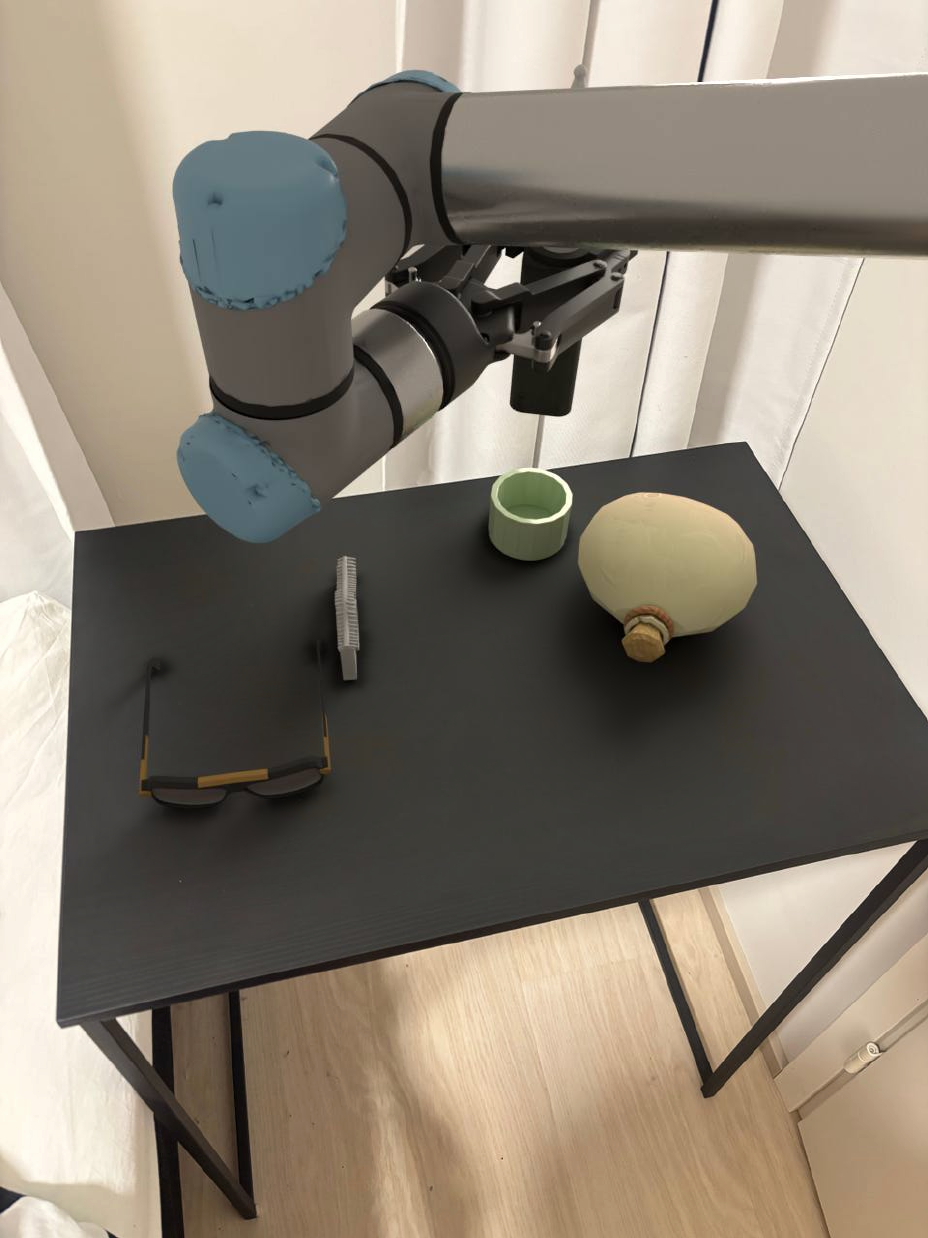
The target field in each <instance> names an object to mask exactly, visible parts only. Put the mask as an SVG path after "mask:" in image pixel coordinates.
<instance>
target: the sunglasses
mask: <svg viewBox="0 0 928 1238" xmlns="http://www.w3.org/2000/svg"><path fill="white" fill-rule="evenodd" d="M315 644H316V645H315V646H316V658H317V667H318V679H319V693H320V694H319V695H320V704H321V725H322V736H323V745H324V747H323V749H324V756H318V755H309V756H304V757H301V758H298V759H294V760H291V761H288V762H285V763H281V764H277V765H273V766H270V767H266V768H261V769H253V770H244V771H243V770H242V771H236V772H228V773H221V774H213V775H206V776H178V775H177V776H176V775H150V776H149V777H148V778H147V774H148V773H147V772H148V756H149V754H148V753H149V729H150V713H151V712H150V709H151V680H152V679H151V678H152V677H151V676H152V670H153V671H156V672H158V671H161V664H160V659H159V658H158V657H150V658H148V660H147V664H146V674H145V675H146V676H145V691H144V706H143V720H142V721H143V723H142V734H141V735H142V737H141V757H140V770H139V787H138V796H141V798H147V797H151V798H152V799H153V800H154V801H155V803H157V804H158V805H160V806H164V807H169V808H174V809H183V810H185V809H205V808H209V807H214V806H218V805H220V804H223V802H224V801H225V800H227V798H228V797H229V796H230V795H231V794H235V793H242V792H244V793H246V794H250V795H253V796H254V797H259V798H262V799H282V798H286V797H291V796H295V795H300V794H303V793H305V792H308V791H311V790H313V789H315V788H317V787H319V786H320V785H322V784H323V783H324V780H325V775H326V774H331V773H332V772H331V771H332V768H331V755H330V743H329V742H330V741H329V740H330V739H329V730H328V717H327V715H326V706H325V705H326V704H325V693H324V682H323V671H322V660H321V654H322V644H321V639H319V638H318V639H316V643H315Z"/></svg>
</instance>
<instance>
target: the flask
mask: <svg viewBox="0 0 928 1238" xmlns="http://www.w3.org/2000/svg"><path fill="white" fill-rule="evenodd" d="M578 544H579V545H578V555H577V565H578V568H579V570H580V573H581V577H582V579H583V580H584V582H585V585H586V587H587V589H588V592H589V594H590V596H591V599H592V600H593V601H594V602H596V603H597V604H598V605H599V606H600V607H601V608H603V609H604V610H605V611H607V612H608V613H609V614H610V615H612V617H614V618H615V619H616V620H618V621H619V622H620V623H621V624H623V630H624V635H625V636H624V637H623V638H622V639H621V643H622V646H623V648H624V651H625V653H626V655H627V656H628V657H629V658H631V659H633V660H634V661H637V662H639V663H653V662H654V661H656V660H658V659H659V658H660V657H662V656H663V655H664V654H665V653H666V650H665V646H666V644H668V643H669V641H670V640H671V639H672V638H676V637H683V636H691V635H697V634H705V633H711V632H713V631H715V630H716V629H718V628H719V627H720V626H722V625H723V624H725V623H726V622H728V621H729V620H730V619H732V618H733V617H735V616H736V615H738V614H739V613H740V612H742V611H743V610H744V609H745V608H746V607H747V605H748V603H749V600H750V599H751V597H752V595H753V592H754V590H755V588H757V587H756V586H757V585H758V577H757V565H756V554H755V549H754V548H755V547H754V544H753V542H752V541H751V540H750V538H749V537H748V536H747V535H746V532H745V531H744V530H743V529H742V527H741V526H740V524H739V523H738V522H737V521H735V520H734V519H733V518H732V517H731V516H730V515H729V514H727V513H725V512H723V511H721V510H719V509H717V508H715V507H713V506H711V505H709V504H706V503H703V502H701V501H698V500H695V499H692V498H688V497H686V496H680V495H673V494H669V493H668V494H667V493H662V492H641V491H640V492H639V491H638V492H636V493H631V494H626V495H623V496H622V497H620V498H617V499H615V500H613V501H611V502H609V503H607V504H604V505H602V506H601V508H600V509H599V510H598V511H597V512H596V513H595V515H594V516H593V517H592V518H591V520H590V521H589V523H588V525H587V526H586V527H585V529H584V531H583V532H582V533H581V535H580V536H579V542H578Z"/></svg>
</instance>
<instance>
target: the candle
mask: <svg viewBox="0 0 928 1238" xmlns="http://www.w3.org/2000/svg"><path fill="white" fill-rule="evenodd" d="M587 75H588V69H587V67H586V65H584V64H583V63H582V64H578V65H576V66H575V68H574V69H573V76H574V78H573V81H572V84H571V86H570V88H587V84H586V78H587ZM590 250H591V249H586V248H557V247H528V246H525V247H524V252H522V258H521V267H520V280H519V283H520V284H522V285H523V286H525V285H528V284H530V283H533V282H536V281H538V280H541V279H544V278H547V277H549V276H552V275H555V274H557V273H560V272H563V271H565V270H568V269H571V268H574V267H576V266H579V265H582V264H584V263H586V260H587V253H588V251H590ZM530 329H532V327H530V328H529V330H530ZM529 330H528V331H529ZM582 343H583V338H581V339H580V340H579V341H577V342H576V343H574V344H573V345H572V346H570V347H569V348H567V349H566V350H565V351H563V352H562V353H560V354H559V355H558V356H557V358H556V359H555V361H554V363H553V365H552V367H551V369H550V370H549V371H548V372H546V373H538V372H535V371H534V370H533V369H532V359H529V358H525V357H521V356H517V355H513V360H512V369H511V370H512V371H511V381H510V382H511V383H510V393H509V396H510V397H509V406H510V408H511V409H512V410H514V411H515V412H518V413H520V414H521V413H522V414H527V415H528V414H529V415H538V416H546V417H555V418H561V417H565V416H567V415H569V414H570V413H571V412H572V409H573V403H574V396H575V389H576V382H577V376H578V371H579V370H578V369H579V363H580V356H581V350H582Z"/></svg>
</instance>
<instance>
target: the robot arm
mask: <svg viewBox="0 0 928 1238" xmlns="http://www.w3.org/2000/svg"><path fill="white" fill-rule="evenodd" d="M172 179H173V180H172V198H173V199H172V200H173V206H174V211H175V217H176V223H177V231H178V237H179V240H178V246H179V264H180V266H181V270H182V272H183V274H184V277H185V279H186V282H187V284H188V289H189V293H190V297H191V303H192V306H193V307H192V308H193V311H194V316H195V320H196V323H197V329H198V333H199V337H200V343H201V347H202V351H203V355H204V360H205V365H206V369H207V372H208V388H209V392H210V397H211V400H212V404H213V405H212V409H211V411H209V412H207V413H206V412H204V413H203V414H199V415H198V418H197V420H196V421H195V422H194V423H192V425H191V426H189V427H188V428H186V429H185V430H184V431H183V432H182V434H181V435H180V438H179V443H178V447H177V450H176V462H177V467H178V470H179V474H180V476H181V478H182V480H183V482H184V485H185V486H186V488H187V490H188V492H189V493H190V495H191V496H192V498H193V499H194V501H195V503H196V504H197V505H198V506H199V508H201V510H202V511H203V512H204V513H205V514H206V516H208V518H209V519H211V520H212V521H213V522H214V523H215V524H216V525H217V526H218V527H220V528H221V529H223V530H225V531H226V532H228V533H230V534H231V535H232V536H234V537H235V538H236V539H239V540H241V541H244V542H247V543H252V544H267V543H270V542H272V541H275V540H277V539H278V538H280V537H281V536H283V535H284V534H286V533H287V532H289V531H290V530H292V529H293V528H295V527H296V526H297V525H299V524H300V523H302V522H304V521H305V520H306V519H308V518H309V517H311V516H315V515H318V514H319V512H321V509H322V508H323V507H324V506H326V504H328V503H329V502H330V501H331V500H333V499H334V498H335V497H336V496H337V495H338V494H340V493H341V492H342V491H344V489H346V488H347V487H348V486H349V485H351V484H352V483H354V481H356V479H358V478H359V477H360V476H362V475H363V474H364V473H365V472H367V470H369V469H370V468H371V467H372V466H374V465H375V464H376V463H377V462H378V461H380V460H381V459H382V458H383V457H385V456H386V455H387V454H388V453H389V452H390V451H392V449H395V448H396V447H397V446H398V445H400V444H401V443H402V442H404V441H405V440H406V439H407V438H409V437H410V436H411V435H412V434H414V432H416V431H417V430H418V429H420V428H421V427H422V426H423V425H424V424H426V423H427V422H428V421H430V420H431V419H432V418H433V417H434V416H435V415H436V414H437V413H438V412H441V411H443V410H444V409H445V408H446V407H447V406H449V405H450V404H452V402H454V401H455V400H456V399H458V398H459V397H461V395H463V394H464V393H465V392H466V391H468V390H469V389H470V388H472V387H473V386H474V384H475V383H476V382H477V381H478V379H479V378H480V377H481V376H482V374H483V373H484V371H485V370H486V368H487V367H488V366H489V365H492V364H494V363H499V362H502V361H505V360H507V359H508V358H510V357H511V355H513V356H514V355H517V356H521V357H525V358H529V359H532V369H533V370H534V371H535V372H538V373H546V372H548V371H549V370H550V369H551V367H552V365H553V363H554V361H555V359H556V358H557V356H558V355H559V354H560V353H562V352H563V351H565V350H566V349H567V348H569V347H570V346H572V345H573V344H574V343H576V342H577V341H579V340H580V339H581V338H582V339H583V338H584V337H587V335H588V334H590V333H592V332H593V331H595V329H597V328H598V327H599V326H601V325H603V324H604V323H605V322H607V321H609V320H610V319H611V318H612V317H614V316H615V315H617V314H618V313H619V312H620V308H621V302H622V297H623V292H624V286H625V280H626V277H625V275H626V274H627V272H628V266H629V262H630V261H631V260H633V259H634V258H635V257H636V256H638V253H639V251H644V252H645V251H648V252H649V251H650V252H677V253H678V252H680V253H705V254H706V253H707V254H735V255H736V254H737V255H762V256H763V255H764V256H765V255H766V256H794V257H821V258H822V257H823V258H824V257H826V258H851V259H852V258H853V259H877V260H878V259H880V260H881V259H883V260H912V261H928V71H925V72H905V73H904V72H903V73H881V74H860V75H839V76H838V75H837V76H836V75H835V76H814V77H813V76H812V77H792V78H791V77H790V78H771V79H770V78H769V79H748V80H729V81H728V80H723V81H704V82H703V81H701V82H682V83H679V82H678V83H657V84H638V85H637V84H635V85H634V84H633V85H615V86H612V85H611V86H591V87H586V88H571V87H569V88H567V87H565V88H548V89H547V88H545V89H522V90H502V91H501V90H500V91H480V92H478V91H477V92H471V91H462V90H461V89H460V88H459V87H458V86H457V85H455V84H454V83H453V82H450V81H448V80H447V79H445V78H444V77H442V76H440V75H438V74H435V73H434V72H432V71H428V70H426V69H407V70H403V71H399V72H397V73H395V74H392V75H390V76H389V77H387V78H386V79H383V80H381V81H378V82H375V83H372V84H371V85H370V86H369V87H368V88H366V89H365V90H364V91H361V92H359V93H358V94H356V95H355V97H354V98H353V99H352V100H351V101H350V102H349V103H348V104H347V106H346V107H345V108H344V109H343V110H342V111H341V112H339V113H338V114H337V115H336V116H334V117H333V118H332V119H331V120H330V121H328V122H327V123H326V124H325V125H323V126H322V127H321V128H320V129H319V130H317V131H316V132H315V133H314V134H312V135H311V136H309V137H308V138H305V137H303V136H299V135H296V134H293V133H289V132H282V131H276V130H248V131H246V130H245V131H238V132H232V133H230V134H229V135H228V136H227V138H224V139H211V140H206V141H204V142H202V143H201V144H198V145H197V146H196V147H195V148H193V149H191V150H190V151H189V152H188V153H187V154H186V155H185V156H184V157H183V158H182V159H181V161H180V162H179V164H178V166H176V169H175V172H174V175H173V178H172ZM416 246H420V247H419V248H418V249H417V250H416V251H414V252H413V253H411V254H410V255H409V256H406V255H407V254H408V253H409V251H410V250H412V249H413V248H414V247H416ZM525 246H528V247H557V248H586V249H591V250H590V251H588V253H587V260H586V263H584V264H582V265H579V266H576V267H574V268H571V269H568V270H565V271H563V272H560V273H557V274H555V275H552V276H549V277H547V278H544V279H541V280H538V281H536V282H533V283H530V284H528V285H525V286H523V285H522V284H520V281H519V282H518V281H516V282H515V281H514V282H513V283H509V284H507V285H504V286H501V287H498V288H493V287H489V286H487V285H486V283H487V280H488V279H489V277H490V275H491V274H492V273H493V271H494V270H495V267H496V266H497V264H498V263H499V261H500V259H501V258H502V255H503V251H504V256H506V257H508V258H510V259H513V260H514V259H515V258H517V257H518V256H520V255H521V254H523V252H524V247H525ZM405 256H406V257H405ZM383 279H384V297H383V298H382V299H381V300H379V301H378V302H376V303H374V304H373V305H372V306H370V307H369V309H365V310H363V311H361V312H360V313H359V314H356V316H354V317H353V313H354V311H355V308H356V307H357V306H358V305H359V304H360V303H361V302H362V301H363V300H364V299H365V298H366V297H367V296H368V295H369V294H370V292H372V291H373V289H374V288H376V286H377V285H378V284H379V283H380V282H381V281H382V280H383ZM530 327H532V329H530V330H529V328H530ZM528 330H529V331H528Z"/></svg>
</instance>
